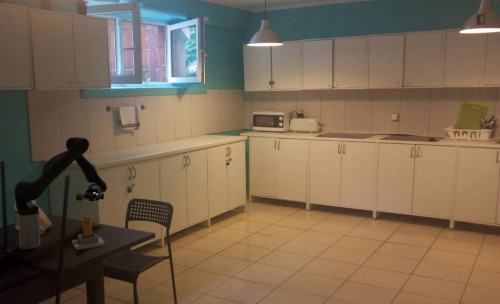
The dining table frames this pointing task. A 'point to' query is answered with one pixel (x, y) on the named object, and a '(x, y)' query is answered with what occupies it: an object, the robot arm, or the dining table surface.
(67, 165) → the robot arm
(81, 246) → the hollow square frame plate
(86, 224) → the stepped amber cylinder
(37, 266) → the dining table surface
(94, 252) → the dining table surface
